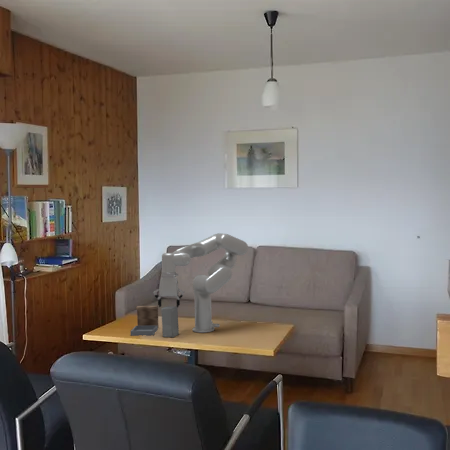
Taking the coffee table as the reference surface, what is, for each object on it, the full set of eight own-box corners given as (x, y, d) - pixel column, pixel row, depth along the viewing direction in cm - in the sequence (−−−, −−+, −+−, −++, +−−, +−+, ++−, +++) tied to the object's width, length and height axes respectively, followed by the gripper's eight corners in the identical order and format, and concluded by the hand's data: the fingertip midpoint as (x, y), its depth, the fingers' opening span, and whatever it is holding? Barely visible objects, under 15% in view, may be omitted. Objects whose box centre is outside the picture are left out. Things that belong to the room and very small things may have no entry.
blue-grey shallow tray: (157, 329, 314) (157, 325, 314) (153, 335, 300) (153, 331, 300) (136, 329, 315) (135, 325, 315) (130, 335, 301) (130, 331, 301)
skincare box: (173, 337, 294) (172, 308, 294) (161, 337, 297) (160, 308, 296) (179, 334, 302) (179, 305, 302) (168, 333, 305) (167, 305, 304)
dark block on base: (158, 328, 318) (157, 305, 318) (157, 329, 314) (156, 307, 313) (138, 328, 319) (137, 305, 318) (136, 330, 314) (135, 307, 314)
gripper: (185, 274, 301) (185, 305, 302) (154, 274, 302) (154, 305, 303) (183, 276, 294) (183, 308, 294) (151, 276, 295) (151, 307, 295)
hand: (168, 306), depth 299 cm, fingers open, 9 cm apart
